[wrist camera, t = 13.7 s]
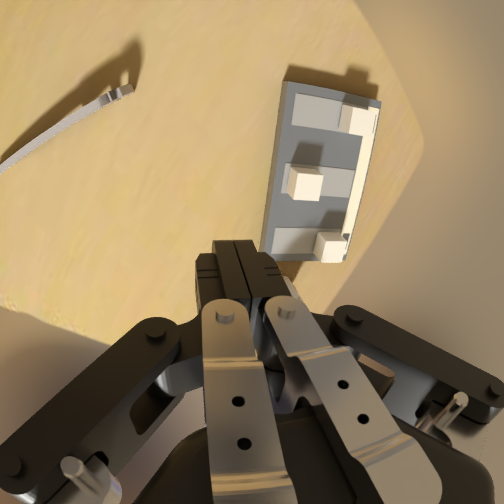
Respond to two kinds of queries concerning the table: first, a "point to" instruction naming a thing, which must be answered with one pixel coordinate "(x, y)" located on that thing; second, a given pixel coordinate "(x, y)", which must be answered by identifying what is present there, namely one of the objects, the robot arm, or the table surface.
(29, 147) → the caliper
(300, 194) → the middle tab
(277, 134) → the switch board
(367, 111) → the tab
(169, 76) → the table surface
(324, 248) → the tab
